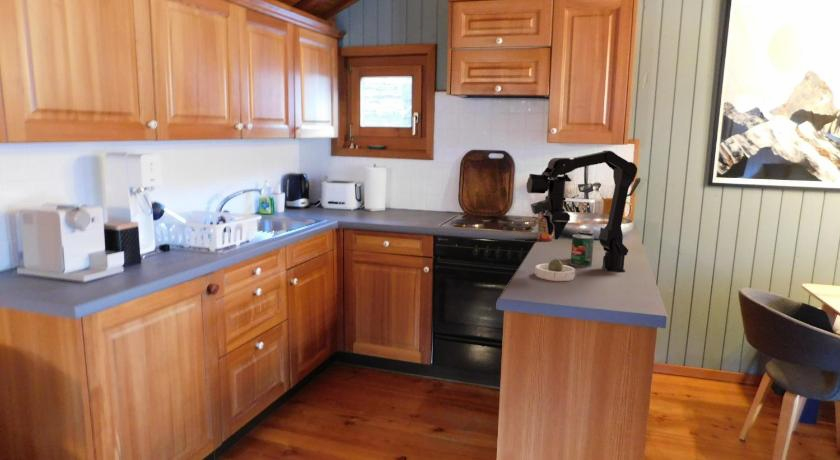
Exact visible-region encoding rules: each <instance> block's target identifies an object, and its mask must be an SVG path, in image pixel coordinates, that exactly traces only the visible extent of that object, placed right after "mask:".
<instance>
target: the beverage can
mask: <svg viewBox="0 0 840 460" xmlns="http://www.w3.org/2000/svg"><path fill="white" fill-rule="evenodd" d="M577 234H582V235H590V236H593V237H594V232H593V229H591V228H584V227H583V228H579V230H578V233H577Z"/></svg>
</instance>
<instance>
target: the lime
mask: <svg viewBox="0 0 840 460" xmlns="http://www.w3.org/2000/svg"><path fill="white" fill-rule="evenodd" d="M548 264H549V265H548V269H549V271H554V272H561V271H562V269H563V265H564V264H563V262H561V260H560V259H557V258H554V259H552V260H551V261H550V262H549V263H548Z"/></svg>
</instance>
